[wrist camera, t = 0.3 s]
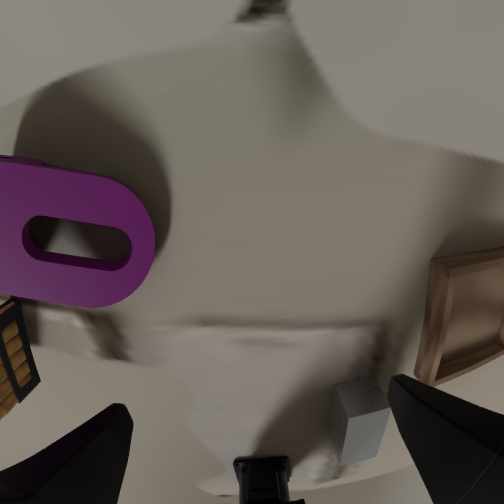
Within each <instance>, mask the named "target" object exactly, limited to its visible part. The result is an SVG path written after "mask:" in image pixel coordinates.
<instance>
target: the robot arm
mask: <svg viewBox="0 0 504 504" xmlns="http://www.w3.org/2000/svg"><path fill="white" fill-rule="evenodd" d="M387 398H388V402H389V404H390V407H391V410H392V413H393V415H394V418H395V421H396V424H397V427H398V429H399V432H400V434H401V436H402V439H403V441H404V443H405V445H406V447H407V449H408V451H409V453H410V455H411V457H412V459H413V461H414V463H415V465H416V467H417V469H418V471H419V473H420V475H421V478H422V480H423V482H424V484H425V486H426V488H427V491H428V493H429V495H430V497H431V499H432V502H433V504H504V415H503V414H500V413H497V412H494V411H491V410H488V409H486V408H483V407H480V406H478V405H475V404H473V403H470V402H468V401H465V400H463V399H460V398H458V397H455V396H453V395H451V394H448V393H446V392H443V391H441V390H439V389H436V388H434V387H432V386H429V385H427V384H425V383H422V382H420V381H418V380H416V379H413V378H411V377H409V376H407V375H404V374H399V375H396V376H393V377H391V379H390V384H389V389H388V394H387ZM132 431H133V420H132V418H131V416H130V414H129V412H128V410H127V407H126V406H125V405H124V404H120V403H113V404H111V405H110V406H108V407H107V408H106V409H104V410H103V411H101V412H100V413H98V414H97V415H95V416H94V417H92V418H91V419H90V420H88V421H86V422H85V423H83V424H82V425H80V426H79V427H77V428H76V429H74V430H73V431H71V432H70V433H68V434H66V435H65V436H63V437H62V438H60V439H59V440H57V441H56V442H54V443H52V444H51V445H49V446H48V447H46V449H43V450H41V451H40V452H38V453H36V454H35V455H33V456H31V457H29V458H27V459H25V460H24V461H22V462H20V463H18V464H16V465H13V466H11V467H9V468H7V469H4V470H2V471H0V504H117V502H118V498H119V493H120V489H121V486H122V481H123V478H124V474H125V470H126V466H127V462H128V457H129V451H130V444H131V437H132ZM233 466H234V470H235V473H236V476H237V479H238V482H239V501H240V502H239V504H305V501H304V499H299V500H296V501H290V497H289V490H288V483H287V482H289V458H288V457H286V456H283V457H275V458H265V459H253V460H236V461H234V462H233Z"/></svg>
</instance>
